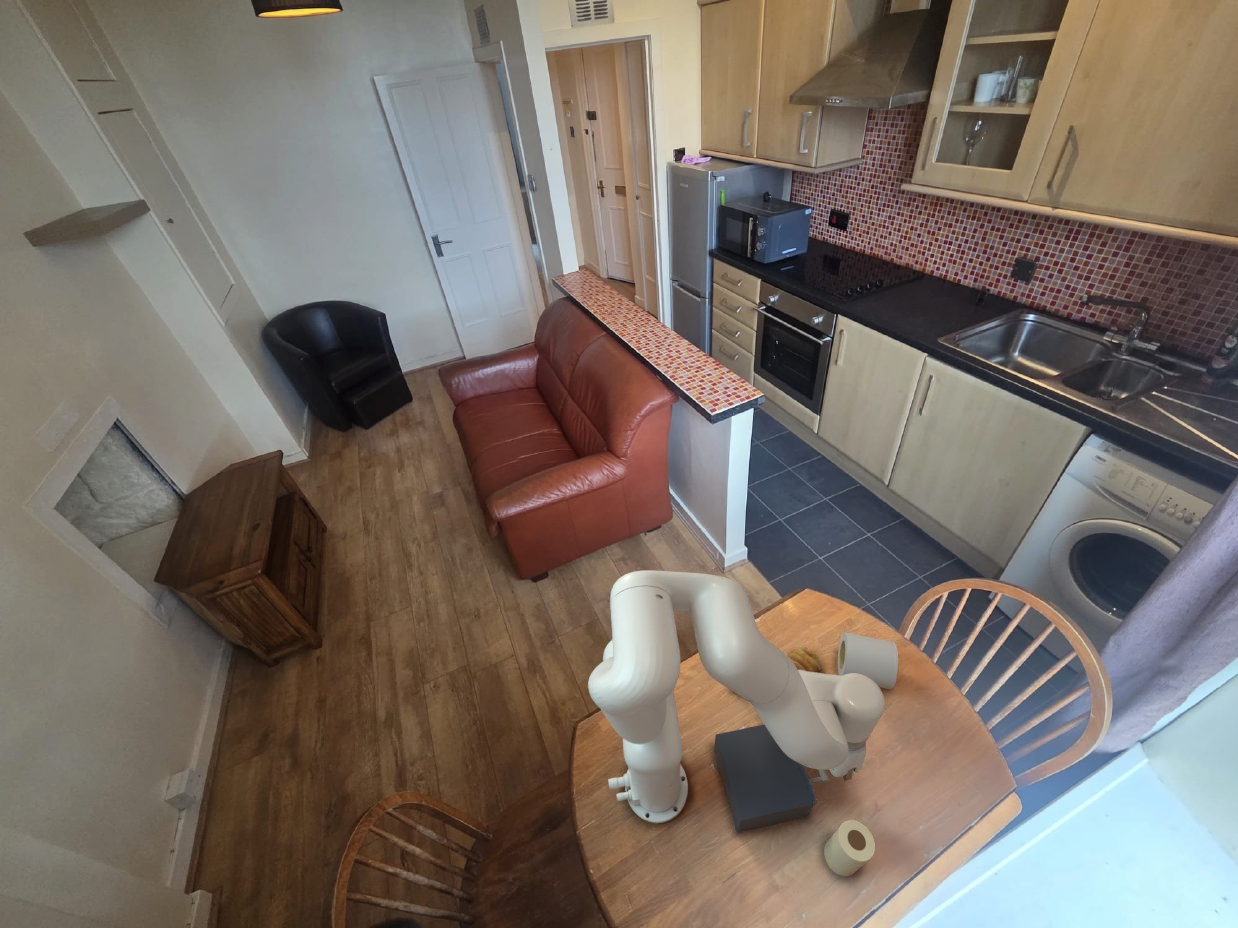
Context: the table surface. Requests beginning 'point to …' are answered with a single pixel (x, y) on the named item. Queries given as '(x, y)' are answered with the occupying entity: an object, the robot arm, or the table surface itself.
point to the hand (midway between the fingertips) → (828, 759)
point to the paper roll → (849, 848)
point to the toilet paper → (868, 658)
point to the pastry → (805, 660)
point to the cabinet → (760, 779)
